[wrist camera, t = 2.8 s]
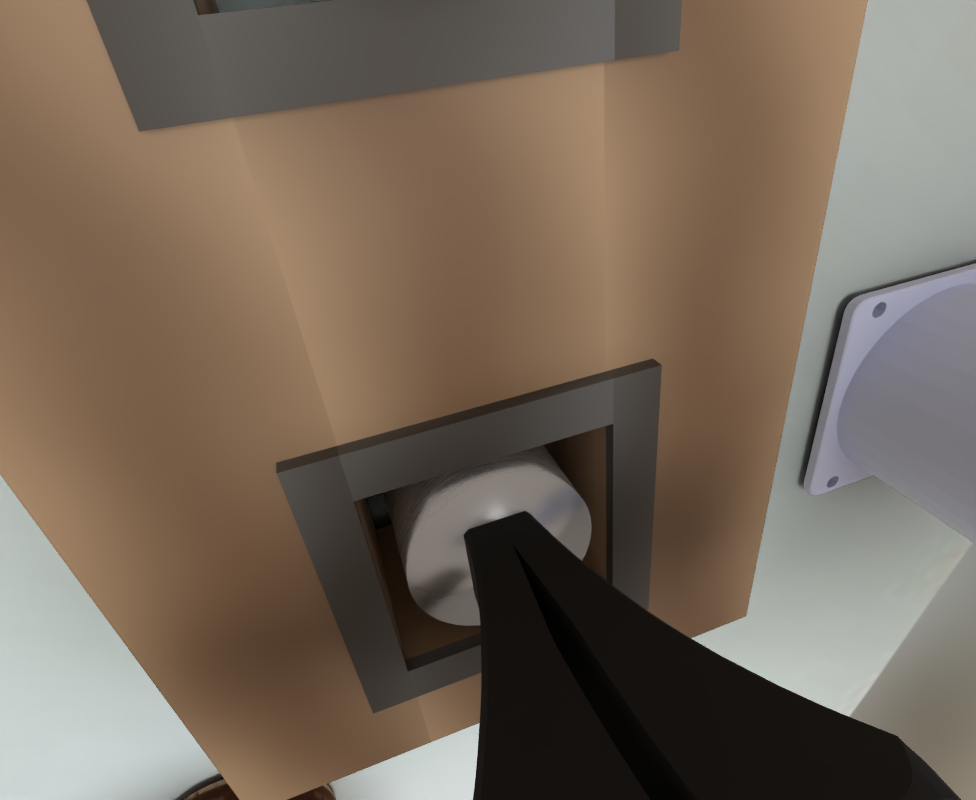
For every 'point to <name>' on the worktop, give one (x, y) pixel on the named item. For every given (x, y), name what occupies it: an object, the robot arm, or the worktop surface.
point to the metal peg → (477, 523)
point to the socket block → (395, 320)
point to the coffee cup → (221, 796)
